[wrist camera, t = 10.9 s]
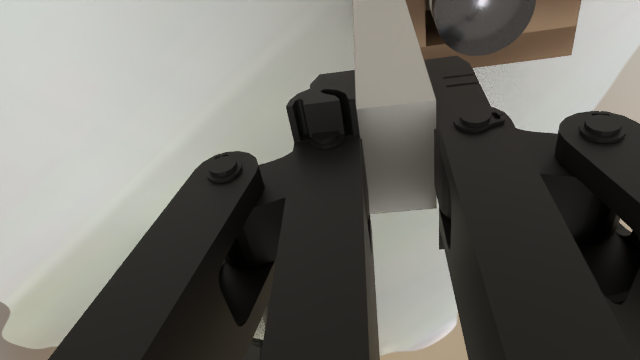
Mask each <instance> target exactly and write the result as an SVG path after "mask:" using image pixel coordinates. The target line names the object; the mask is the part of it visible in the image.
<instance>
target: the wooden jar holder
mask: <svg viewBox="0 0 640 360" xmlns="http://www.w3.org/2000/svg"><path fill="white" fill-rule="evenodd" d="M405 1H406V4H407V7H408V10H409V14H410V17H411V20H412V23H413V27H414V30H415V33H416V36H417V40H418V43H419V46H420V49H421V53H422V56H423V59H424V60H426V59H434V58H442V57H450V56H459V57H460V58H462V59H463V60H465V61H467V62H468V63H470V65H471V67H472V68H475V67H483V66H491V65H499V64H506V63H514V62H522V61H530V60H537V59H545V58H553V57H561V56H568V55H571V53H572V48H573V42H574V37H575V32H576V26H577V21H578V15H579V10H580V4H581V0H536V4H535V9H534V13H533V16H532V18H531V20H530V22H529V24H528V26H527V27H526V29H525V30H524V31H523V33H522V34H521V35H520V36H519V37H518V38H517V39H516V40H515V41H514V42H512V43H511V44H510V45H508V46H507V47H505V48H503V49H501V50H499V51H497V52H495V53H491V54H488V55H482V56H469V55H464V54H461V53H458V52H456V51H454V50H453V49H451V48H450V47H449V46H447V45H446V44H445V42H444V41H443V40H442V38H441V37H440V35H439V33H438V30H437V27H436V24H435V22H434V19H433V16H432V13H431V10H430V8H429V5H428V2H427V0H405Z"/></svg>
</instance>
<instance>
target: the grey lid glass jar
mask: <svg viewBox="0 0 640 360" xmlns="http://www.w3.org/2000/svg"><path fill="white" fill-rule="evenodd" d="M427 2H428V5H429V8H430V10H431V13H432V16H433V19H434V22H435V24H436V27H437V30H438V33H439V35H440V37H441V38H442V40H443V41H444V42H445V44H446V45H447V46H449V47H450V48H451V49H453V50H454V51H456V52H458V53H461V54H464V55H469V56H482V55H488V54H491V53H495V52H497V51H499V50H501V49H503V48H505V47H507V46H508V45H510V44H511V43H512V42H514V41H515V40H516V39H517V38H518V37H519V36H520V35H521V34H522V33H523V31H524V30H525V29H526V27H527V26H528V24H529V22H530V20H531V18H532V16H533V13H534V9H535V4H536V0H427Z"/></svg>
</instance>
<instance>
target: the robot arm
mask: <svg viewBox="0 0 640 360" xmlns="http://www.w3.org/2000/svg"><path fill="white" fill-rule="evenodd" d="M353 21H354V57H355V70H351V71H344V72H336V73H328V74H320V75H319V76H318V77H317V78H316V79H315V80H314V81H313V82H312V83H311V85H310V89H308V90H306V91H304V92H301V93H299V94H297V95H296V96H295V97H293V98H292V99H291V100H290V101H289V102H288V104H287V106H286V109H287V113H288V117H289V122H290V126H291V130H292V135H293V139H294V148H293V151H292V152H291V153H290V154H288V155H286V156H284V157H282V158H280V159H277V160H274V161H271V162H268V163H265V164H261V165H258V162H257V160H256V158H255V157H254V156H252V155H251V154H249V153H245V152H240V151H235V152H225V153H222V154H218V155H215V156H213V157H212V158H210V159H208V160H206V161H204V162H203V163H202V164H201V165H200V166H199V167H197V168H196V169H195V171H194V172H193V173H192V174H191V176H190V177H189V178H188V180H187V181H186V182H185V183H184V185H183V186H182V187H181V189H180V190H179V191H178V192H177V194H176V195H175V196H174V198H173V199H172V200H171V202H170V203H169V204H168V205H167V207H166V208H165V209H164V211H163V212H162V213H161V214H160V216H159V217H158V218H157V220H156V221H155V222H154V223H153V225H152V226H151V227H150V229H149V230H148V231H147V232H146V234H145V235H144V236H143V238H142V239H141V240H140V242H139V243H138V244H137V245H136V247H135V248H134V249H133V251H132V252H131V253H130V254H129V256H128V257H127V258H126V260H125V261H124V262H123V263H122V265H121V266H120V267H119V269H118V270H117V271H116V272H115V274H114V275H113V276H112V278H111V279H110V280H109V282H108V283H107V284H106V285H105V287H104V288H103V289H102V291H101V292H100V293H99V294H98V296H97V297H96V298H95V300H94V301H93V302H92V303H91V305H90V306H89V307H88V309H87V310H86V311H85V312H84V314H83V315H82V316H81V318H80V319H79V320H78V322H77V323H76V324H75V325H74V327H73V328H72V329H71V331H70V332H69V333H68V334H67V336H66V337H65V338H64V340H63V341H62V342H61V343H60V345H59V346H58V347H57V349H56V350H55V351H54V353H53V354H52V355H51V356H50V358H49V359H48V360H380V358H379V340H378V324H377V308H376V292H375V276H374V259H373V243H372V229H371V221H370V214H373V213H385V212H397V211H409V210H421V209H433V208H436V194H437V199H438V203H439V249H445V254H446V258H447V263H448V267H449V272H450V276H451V281H452V286H453V290H454V295H455V299H456V304H457V309H458V313H459V317H460V322H461V327H462V332H463V336H464V340H465V345H466V350H467V354H468V359H469V360H640V124H639V123H637V122H635V121H633V120H631V119H629V118H627V117H625V116H622V115H618V114H613V113H610V112H604V111H601V112H599V111H590V112H583V113H577V114H574V115H571V116H569V117H566V118H565V119H564V120H563V121H562V122H561V123H560V125H559V131H558V134H554V133H541V132H531V131H524V130H520V129H517V128H515V126H514V124H513V122H512V120H511V119H510V118H509V117H508V115H507V114H506V113H505V112H503V111H500V110H498V109H496V108H493V107H491V106H490V104H489V102H488V100H487V98H486V96H485V94H484V92H483V89H482V87H481V85H480V84H479V81H478V79H477V77H476V75H475V73H474V71H473V69H472V67H471V65H470V63H468V62H467V61H465V60H463V59H462V58H460V57H459V56H450V57H442V58H434V59H426V60H424V59H423V56H422V53H421V49H420V46H419V43H418V40H417V36H416V33H415V30H414V27H413V23H412V20H411V17H410V14H409V10H408V7H407V4H406V1H405V0H353ZM620 218H621V219H622V220H623V221H624V222H625V223H626V224H627V225H628V226H629V227H630V228H631V229H632V230H633V231H632V232H630V231H629V230H627V229H626V228H624V227H623V226H622V225H621V224H620V223H619V220H620ZM262 316H264V321H265V334H264V340H260V339H257V338H253V336H254V334H255V332H256V329H257V327H258V325H259V322H260V320H261V318H262Z"/></svg>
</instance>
